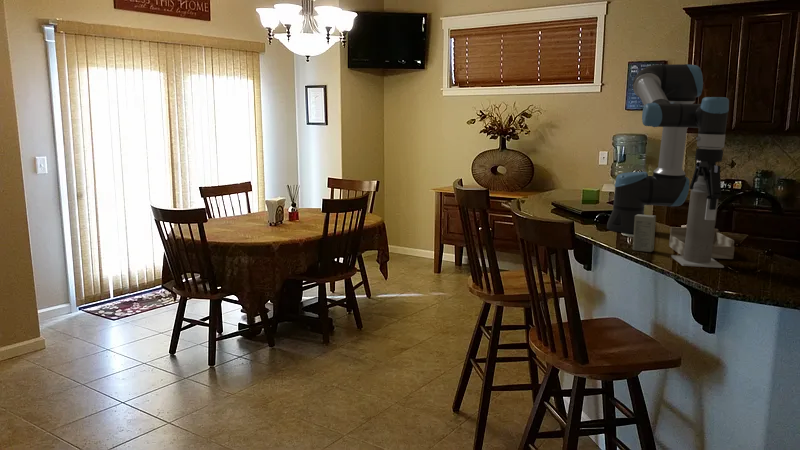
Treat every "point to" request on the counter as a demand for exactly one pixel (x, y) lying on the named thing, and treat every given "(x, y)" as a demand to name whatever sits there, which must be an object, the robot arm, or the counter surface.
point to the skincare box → (644, 232)
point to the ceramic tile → (686, 263)
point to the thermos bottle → (699, 226)
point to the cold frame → (720, 249)
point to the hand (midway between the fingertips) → (701, 216)
